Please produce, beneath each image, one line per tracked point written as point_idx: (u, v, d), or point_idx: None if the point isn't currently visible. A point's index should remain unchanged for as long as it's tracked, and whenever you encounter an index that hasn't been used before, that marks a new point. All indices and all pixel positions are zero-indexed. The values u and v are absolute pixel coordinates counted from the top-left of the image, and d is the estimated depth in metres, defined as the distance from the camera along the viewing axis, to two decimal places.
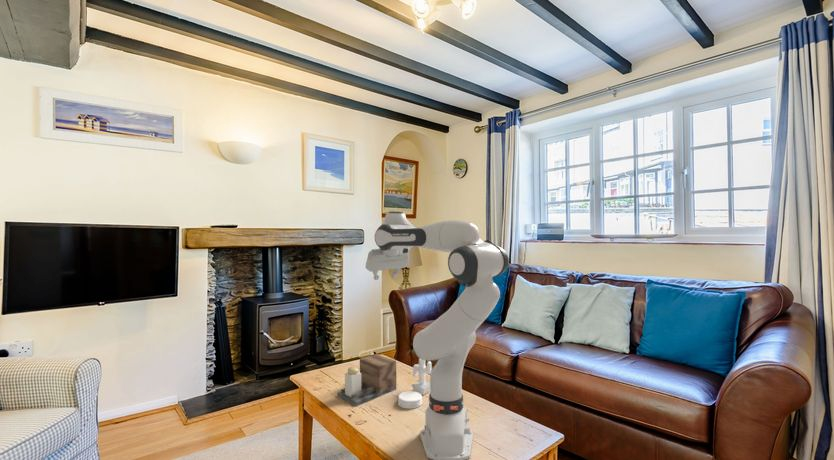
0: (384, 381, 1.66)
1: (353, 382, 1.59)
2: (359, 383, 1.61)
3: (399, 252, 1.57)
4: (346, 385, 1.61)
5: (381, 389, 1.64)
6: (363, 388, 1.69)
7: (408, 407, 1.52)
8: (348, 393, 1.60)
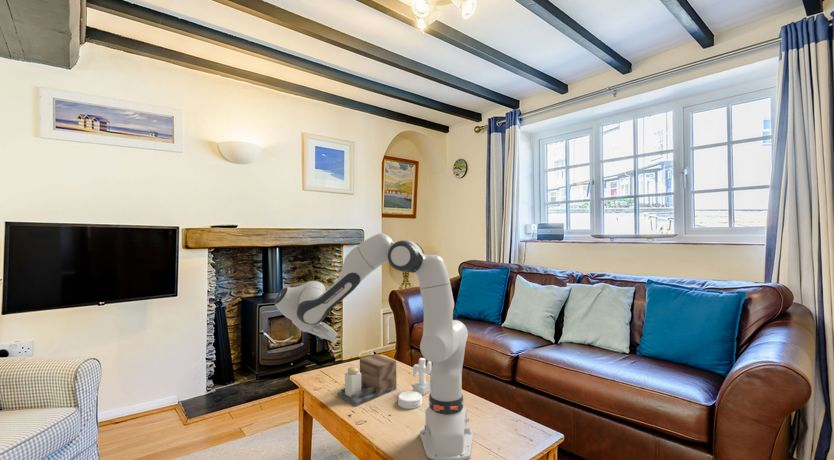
0: (384, 381, 1.66)
1: (353, 382, 1.59)
2: (359, 383, 1.61)
3: None
4: (346, 385, 1.61)
5: (381, 389, 1.64)
6: (363, 388, 1.69)
7: (408, 407, 1.52)
8: (348, 393, 1.60)
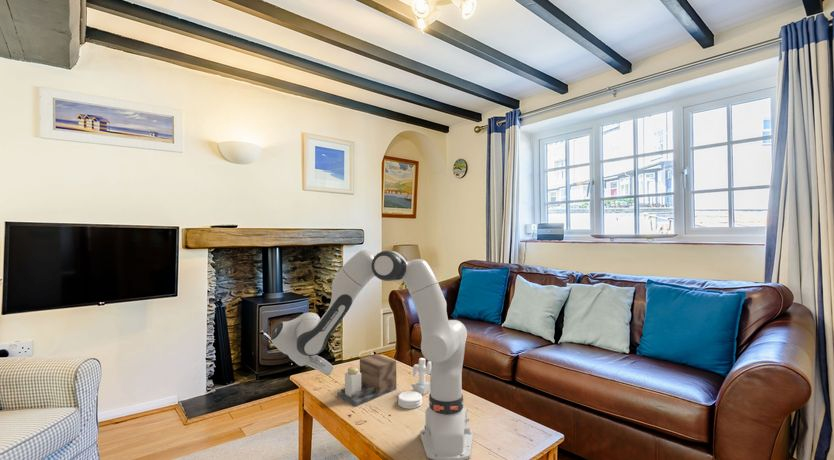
0: (384, 381, 1.66)
1: (353, 382, 1.59)
2: (359, 383, 1.61)
3: None
4: (346, 385, 1.61)
5: (381, 389, 1.64)
6: (363, 388, 1.69)
7: (408, 407, 1.52)
8: (348, 393, 1.60)
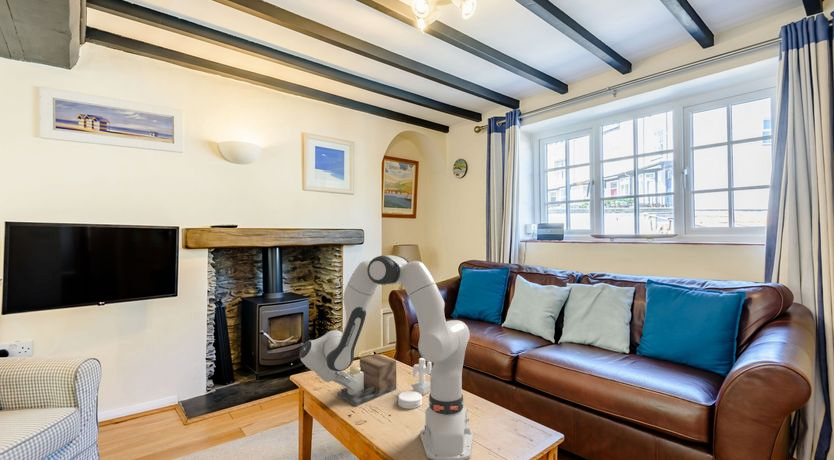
0: (384, 381, 1.66)
1: None
2: (361, 382, 1.62)
3: None
4: None
5: (381, 389, 1.64)
6: None
7: (408, 407, 1.52)
8: (350, 392, 1.61)
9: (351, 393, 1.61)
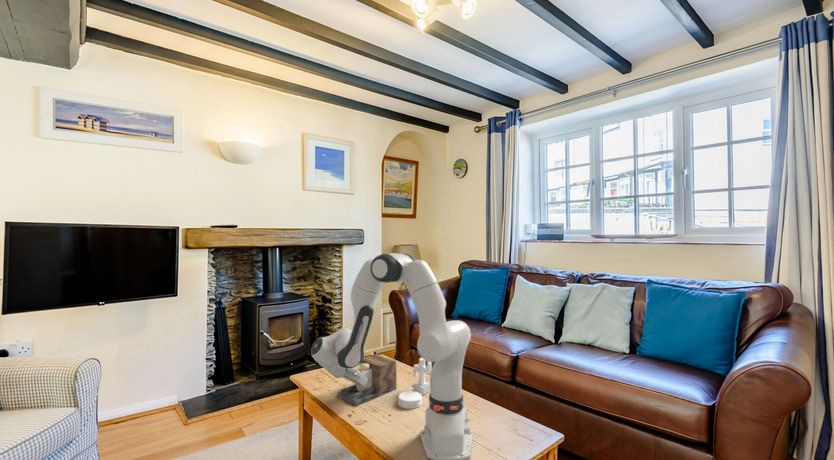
0: (384, 381, 1.66)
1: None
2: (370, 379, 1.66)
3: None
4: None
5: (381, 389, 1.64)
6: None
7: (408, 407, 1.52)
8: (359, 389, 1.65)
9: (360, 389, 1.64)
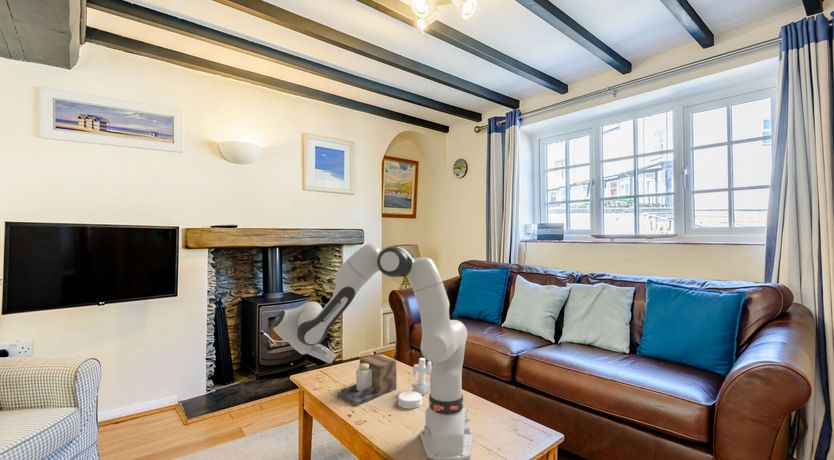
0: (384, 381, 1.66)
1: (364, 377, 1.63)
2: (370, 379, 1.66)
3: None
4: (357, 381, 1.66)
5: (381, 389, 1.64)
6: None
7: (408, 407, 1.52)
8: (359, 389, 1.65)
9: (360, 389, 1.64)
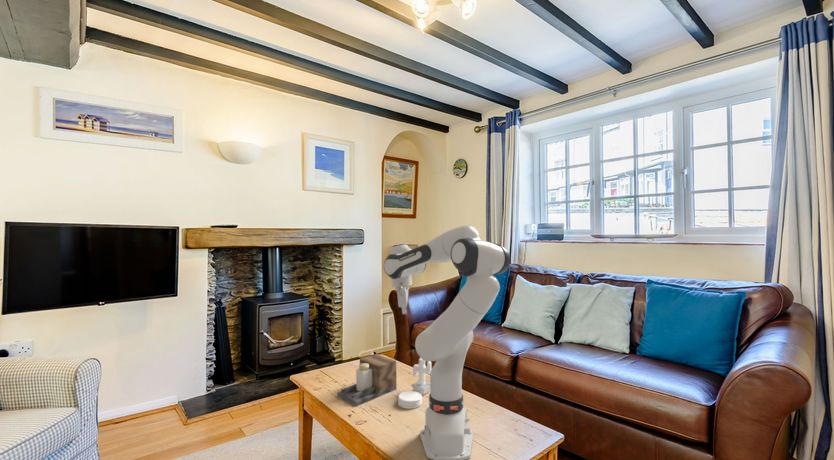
0: (384, 381, 1.66)
1: (364, 377, 1.63)
2: (370, 379, 1.66)
3: None
4: (357, 381, 1.66)
5: (381, 389, 1.64)
6: None
7: (408, 407, 1.52)
8: (359, 389, 1.65)
9: (360, 389, 1.64)
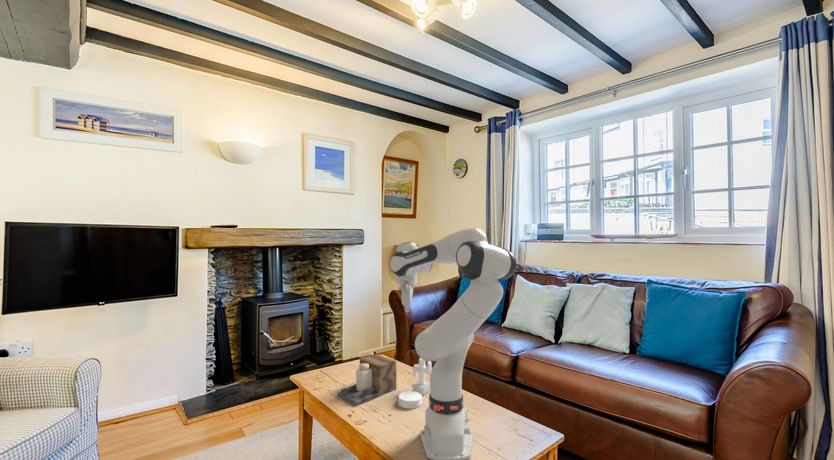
0: (384, 381, 1.66)
1: (364, 377, 1.63)
2: (370, 379, 1.66)
3: None
4: (357, 381, 1.66)
5: (381, 389, 1.64)
6: None
7: (408, 407, 1.52)
8: (359, 389, 1.65)
9: (360, 389, 1.64)
